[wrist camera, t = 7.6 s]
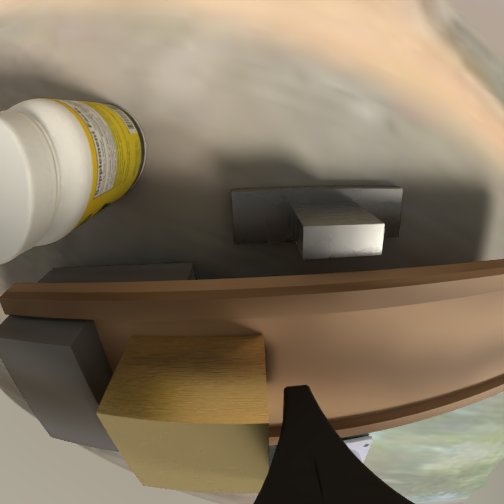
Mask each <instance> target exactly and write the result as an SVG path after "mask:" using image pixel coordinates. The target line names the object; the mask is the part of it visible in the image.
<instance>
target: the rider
mask: <svg viewBox="0 0 504 504" xmlns="http://www.w3.org/2000/svg"><path fill="white" fill-rule="evenodd" d="M96 414H97V416H98V418H99V419H100V421H101V423H102V424H103V426H104V428H105V430H106V431H107V433H108V434H109V436H110V438H111V439H112V441H113V443H114V444H115V446H116V447H117V449H118V450H119V452H120V453H121V455H122V456H123V458H124V459H125V461H126V462H127V464H128V465H129V467H130V468H131V470H132V471H133V472H134V474H135V475H136V477H137V478H138V479H139V480H140V482H141V483H142V485H144V486H150V487H157V488H165V489H173V490H183V491H195V492H211V493H259V492H260V490H261V488H262V486H263V483H264V481H265V479H266V476H267V474H268V471H269V417H268V399H267V382H266V365H265V348H264V335H251V336H197V337H191V336H137V335H132V336H131V338H130V340H129V342H128V344H127V346H126V349H125V351H124V353H123V355H122V357H121V359H120V361H119V363H118V365H117V367H116V369H115V372H114V374H113V376H112V378H111V380H110V382H109V385H108V387H107V389H106V391H105V393H104V396H103V398H102V400H101V402H100V405H99V407H98V409H97V411H96Z"/></svg>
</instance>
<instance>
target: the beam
mask: <svg viewBox="0 0 504 504" xmlns="http://www.w3.org/2000/svg"><path fill="white" fill-rule="evenodd" d="M0 303H1V305H2V308H3V310H4V313H5V314H8V315H9V316H8V317H7V318H6V319H5V320H4V321H3V323H2V324H1V325H0V357H1V359H2V361H3V363H4V365H5V366H6V368H7V370H8V372H9V374H10V375H11V377H12V379H13V381H14V382H15V384H16V386H17V387H18V389H19V391H20V392H21V394H22V395H23V397H24V399H25V400H26V402H27V403H28V405H29V406H30V408H31V409H32V411H33V412H34V414H35V415H36V417H37V418H38V420H39V421H40V422H41V424H42V425H43V427H44V428H45V429H46V431H47V432H48V433H49V435H50V436H51V437H53V438H57V439H61V440H64V441H68V442H72V443H77V444H81V445H86V446H90V447H95V448H100V449H106V450H111V451H117V452H119V450H118V449H117V447H116V446H115V444H114V443H113V441H112V439H111V438H110V436H109V434H108V433H107V431H106V430H105V428H104V426H103V424H102V423H101V421H100V419H99V418H98V416H97V414H96V411H97V409H98V407H99V405H100V402H101V400H102V398H103V396H104V393H105V391H106V389H107V387H108V385H109V382H110V380H111V378H112V376H113V374H114V372H115V369H116V367H117V365H118V363H119V361H120V359H121V357H122V355H123V353H124V351H125V349H126V346H127V344H128V342H129V340H130V338H131V336H132V335H137V336H191V337H197V336H251V335H264V348H265V365H266V382H267V399H268V417H269V446H272V445H277V444H278V441H279V437H280V433H281V427H282V422H283V397H284V388H286V387H287V386H298V385H308V386H309V387H310V390H311V392H312V394H313V396H314V398H315V399H316V401H317V403H318V405H319V407H320V408H321V410H322V412H323V413H324V415H325V416H326V418H327V419H328V421H329V422H330V424H331V425H332V427H333V428H334V429H335V431H336V432H337V434H338V435H339V436H340V438H343V437H349V436H355V435H360V434H366V433H371V432H375V431H380V430H385V429H389V428H393V427H398V426H402V425H406V424H409V423H413V422H417V421H420V420H424V419H427V418H431V417H434V416H437V415H441V414H444V413H447V412H450V411H453V410H456V409H459V408H462V407H464V406H467V405H470V404H473V403H475V402H478V401H481V400H483V399H486V398H488V397H491V396H493V395H495V394H498V393H500V392H502V391H504V259H499V260H489V261H479V262H468V263H457V264H446V265H434V266H422V267H410V268H397V269H384V270H370V271H355V272H340V273H324V274H308V275H290V276H271V277H251V278H229V279H205V280H196V279H195V272H194V264H193V262H189V263H166V264H143V265H118V266H93V267H66V268H53V269H52V270H51V271H50V272H49V273H48V274H47V275H45V276H44V277H43V278H42V279H41V280H40V281H39V282H38V283H15V284H14V285H13V286H12V287H10V288H9V289H8V290H7V291H6V292H5V293H4V294H3V295H2V296H0Z"/></svg>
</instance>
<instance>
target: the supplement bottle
mask: <svg viewBox="0 0 504 504" xmlns="http://www.w3.org/2000/svg"><path fill="white" fill-rule="evenodd" d="M145 160H146V142H145V138H144V134H143V131H142V129H141V127H140V125H139V123H138V122H137V120H136V119H135V118H134V117H133V116H132V115H131V114H130V113H129V112H127V111H126V110H124V109H123V108H121V107H118V106H115V105H112V104H106V103H95V102H86V101H75V100H61V99H46V98H39V99H30V100H26V101H23V102H20V103H18V104H16V105H14V106H12V107H11V108H9V109H8V110H4V111H0V265H1V264H4V263H7V262H9V261H11V260H13V259H14V258H15V257H17V256H18V255H20V254H21V253H23V252H25V251H27V250H29V249H31V248H32V247H34V246H43V245H47V244H51V243H53V242H56V241H58V240H59V239H61V238H63V237H64V236H66V235H67V234H69V233H70V232H71V231H73V230H74V229H76V228H77V227H78V226H80V225H81V224H83V223H84V222H86V221H87V220H88V219H89V218H91V217H92V216H94V215H95V214H97V213H98V212H100V211H101V210H102V209H104V208H105V207H107V206H108V205H110V204H111V203H113V202H114V201H116V200H117V199H119V198H120V197H122V196H123V195H125V194H126V193H127V192H129V191H130V190H131V189H132V188H133V186H134V185H135V184H136V182H137V181H138V179H139V177H140V176H141V173H142V171H143V168H144V165H145Z"/></svg>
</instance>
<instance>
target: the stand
mask: <svg viewBox="0 0 504 504" xmlns="http://www.w3.org/2000/svg"><path fill="white" fill-rule="evenodd" d="M231 196H232V212H233V228H234V243H235V244H250V243H271V242H292V241H295V242H296V244H297V247H298V249H299V251H300V254H301V256H302V259H321V258H339V257H356V256H373V255H382V246H383V237H399V229H400V219H401V208H402V196H403V189H402V188H400V187H396V186H304V187H271V188H248V189H232V191H231Z"/></svg>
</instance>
